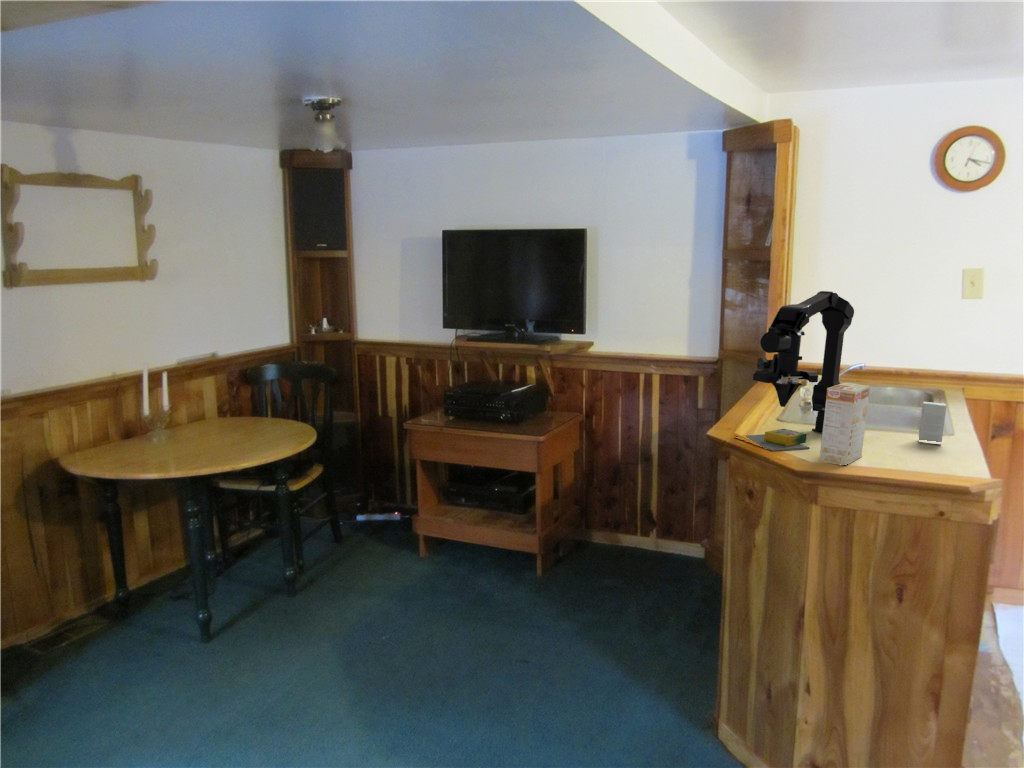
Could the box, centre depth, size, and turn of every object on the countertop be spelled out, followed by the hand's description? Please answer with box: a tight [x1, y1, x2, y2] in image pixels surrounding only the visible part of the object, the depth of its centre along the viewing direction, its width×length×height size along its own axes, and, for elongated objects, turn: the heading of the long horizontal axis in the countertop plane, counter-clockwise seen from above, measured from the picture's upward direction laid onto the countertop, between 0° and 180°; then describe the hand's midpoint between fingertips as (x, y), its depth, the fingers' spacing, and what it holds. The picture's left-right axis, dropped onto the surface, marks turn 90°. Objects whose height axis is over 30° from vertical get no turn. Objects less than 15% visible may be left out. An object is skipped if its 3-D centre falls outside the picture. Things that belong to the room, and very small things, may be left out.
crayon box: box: [762, 428, 807, 447], centre depth 217 cm, size 7×3×12 cm
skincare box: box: [918, 401, 947, 443], centre depth 228 cm, size 6×4×12 cm
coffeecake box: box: [818, 382, 871, 466], centre depth 202 cm, size 15×7×20 cm, turn 141°
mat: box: [744, 433, 810, 452], centre depth 218 cm, size 13×16×1 cm
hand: (782, 406), depth 217 cm, fingers closed
